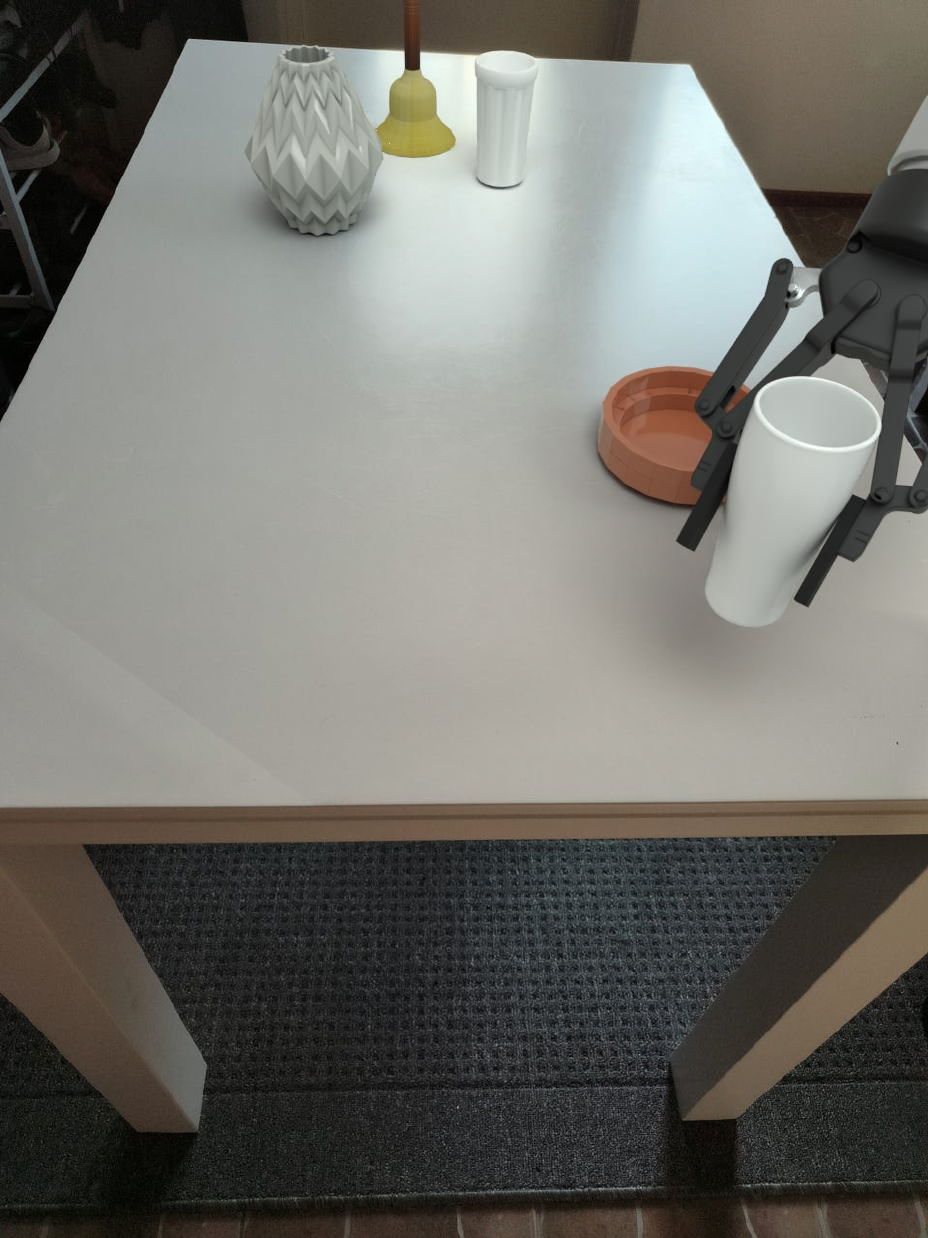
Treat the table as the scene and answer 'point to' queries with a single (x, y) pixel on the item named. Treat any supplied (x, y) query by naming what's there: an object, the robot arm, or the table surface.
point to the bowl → (657, 430)
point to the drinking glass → (787, 493)
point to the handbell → (413, 102)
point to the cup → (503, 114)
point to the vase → (313, 142)
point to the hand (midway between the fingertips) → (741, 573)
